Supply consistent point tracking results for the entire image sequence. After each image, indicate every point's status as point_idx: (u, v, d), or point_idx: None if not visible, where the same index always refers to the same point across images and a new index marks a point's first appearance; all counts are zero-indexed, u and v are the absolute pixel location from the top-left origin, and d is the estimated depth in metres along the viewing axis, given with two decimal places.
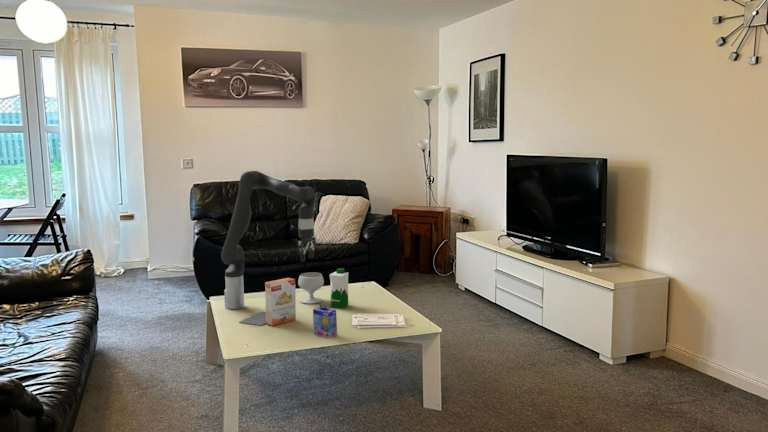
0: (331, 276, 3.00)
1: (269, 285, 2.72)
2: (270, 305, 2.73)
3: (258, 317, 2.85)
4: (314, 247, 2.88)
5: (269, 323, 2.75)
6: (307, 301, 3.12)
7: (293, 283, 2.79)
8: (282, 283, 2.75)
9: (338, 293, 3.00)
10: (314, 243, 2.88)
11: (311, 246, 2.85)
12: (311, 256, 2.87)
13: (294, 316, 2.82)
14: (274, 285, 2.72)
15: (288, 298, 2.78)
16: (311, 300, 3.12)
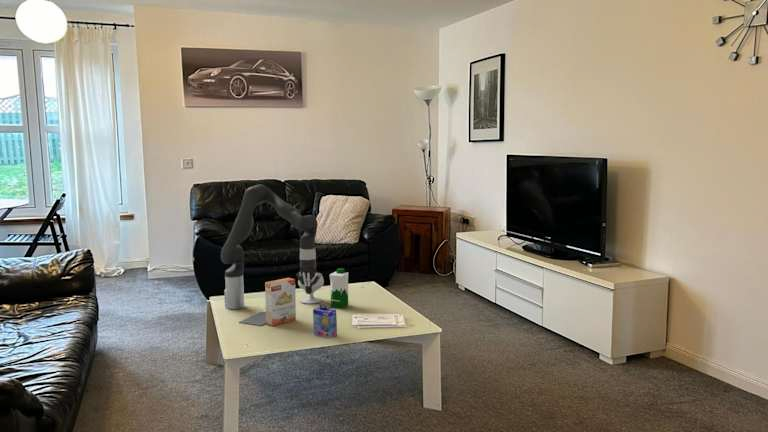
0: (331, 276, 3.00)
1: (269, 285, 2.72)
2: (270, 305, 2.73)
3: (258, 317, 2.85)
4: None
5: (269, 323, 2.75)
6: (307, 301, 3.12)
7: (293, 283, 2.79)
8: (282, 283, 2.75)
9: (338, 293, 3.00)
10: (303, 277, 2.73)
11: None
12: None
13: (294, 316, 2.82)
14: (274, 285, 2.72)
15: (288, 298, 2.78)
16: (311, 300, 3.12)
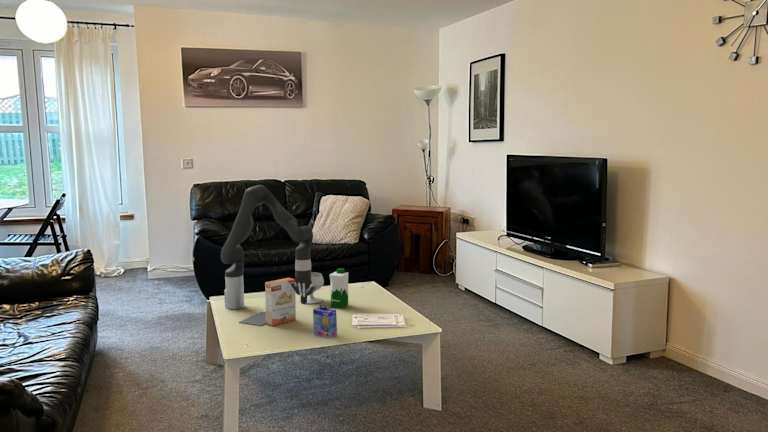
0: (331, 276, 3.00)
1: (269, 285, 2.72)
2: (270, 305, 2.73)
3: (258, 317, 2.85)
4: None
5: (269, 323, 2.75)
6: (307, 301, 3.12)
7: None
8: (282, 283, 2.75)
9: (338, 293, 2.99)
10: (298, 287, 2.75)
11: None
12: None
13: (294, 316, 2.82)
14: (274, 285, 2.72)
15: (288, 298, 2.78)
16: (311, 300, 3.12)
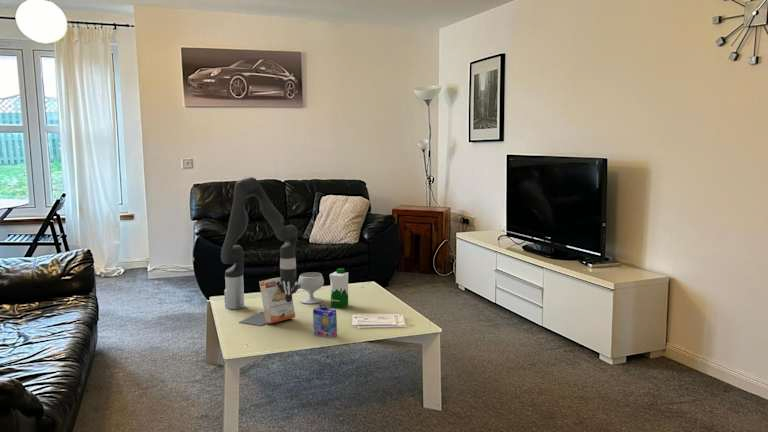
0: (331, 276, 3.00)
1: (263, 282, 2.75)
2: (267, 302, 2.74)
3: (258, 317, 2.85)
4: None
5: (269, 321, 2.75)
6: (307, 301, 3.12)
7: None
8: (276, 279, 2.78)
9: (338, 293, 2.99)
10: (283, 286, 2.78)
11: None
12: None
13: (293, 313, 2.82)
14: (268, 281, 2.75)
15: (284, 294, 2.80)
16: (311, 300, 3.12)
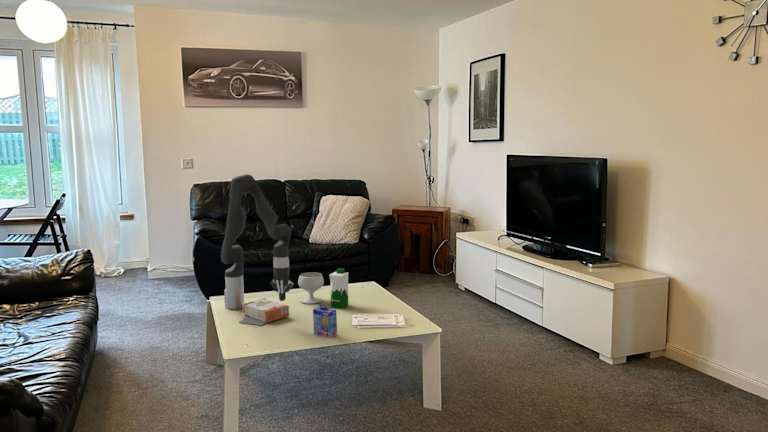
0: (331, 276, 3.00)
1: (243, 306, 2.90)
2: (254, 309, 2.83)
3: None
4: None
5: (264, 315, 2.77)
6: (307, 301, 3.12)
7: (265, 298, 2.98)
8: (253, 301, 2.94)
9: (338, 293, 2.99)
10: (277, 284, 2.80)
11: None
12: None
13: (285, 305, 2.87)
14: (246, 303, 2.91)
15: (266, 302, 2.91)
16: (311, 300, 3.12)
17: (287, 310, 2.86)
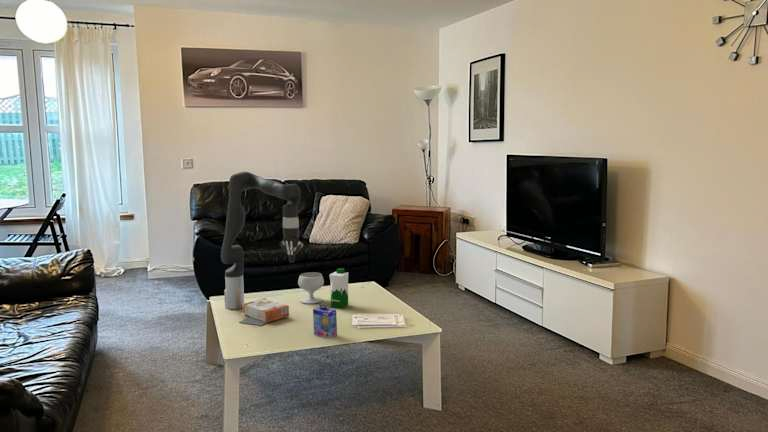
0: (331, 276, 3.00)
1: (243, 306, 2.90)
2: (254, 309, 2.83)
3: None
4: None
5: (264, 315, 2.77)
6: (307, 301, 3.12)
7: (265, 298, 2.98)
8: (253, 301, 2.94)
9: (338, 293, 2.99)
10: None
11: None
12: None
13: (285, 305, 2.87)
14: (246, 303, 2.91)
15: (266, 302, 2.91)
16: (311, 300, 3.12)
17: (287, 310, 2.86)
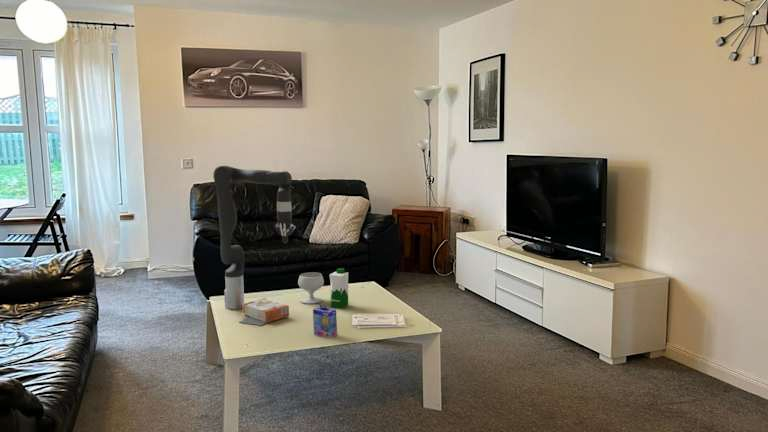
0: (331, 276, 3.00)
1: (243, 306, 2.90)
2: (254, 309, 2.83)
3: None
4: None
5: (264, 315, 2.77)
6: (307, 301, 3.12)
7: (265, 298, 2.98)
8: (253, 301, 2.94)
9: (338, 293, 2.99)
10: (280, 228, 3.01)
11: None
12: None
13: (285, 305, 2.87)
14: (246, 303, 2.91)
15: (266, 302, 2.91)
16: (311, 300, 3.12)
17: (287, 310, 2.86)
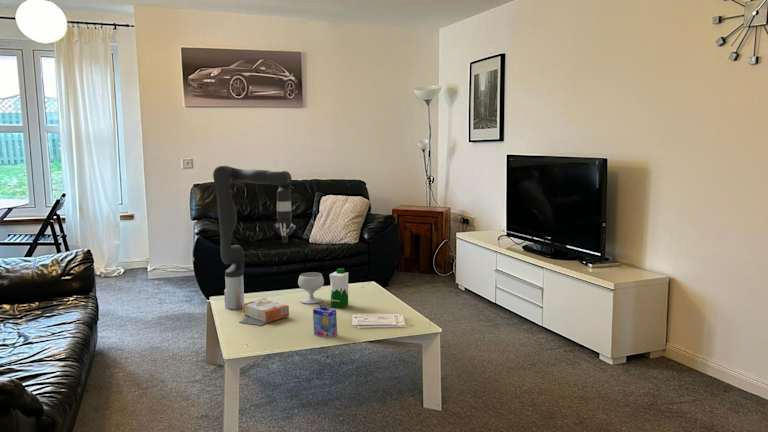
0: (331, 276, 3.00)
1: (243, 306, 2.90)
2: (254, 309, 2.83)
3: None
4: None
5: (264, 315, 2.77)
6: (307, 301, 3.12)
7: (265, 298, 2.98)
8: (253, 301, 2.94)
9: (338, 293, 2.99)
10: (280, 228, 3.01)
11: None
12: None
13: (285, 305, 2.87)
14: (246, 303, 2.91)
15: (266, 302, 2.91)
16: (311, 300, 3.12)
17: (287, 310, 2.86)
